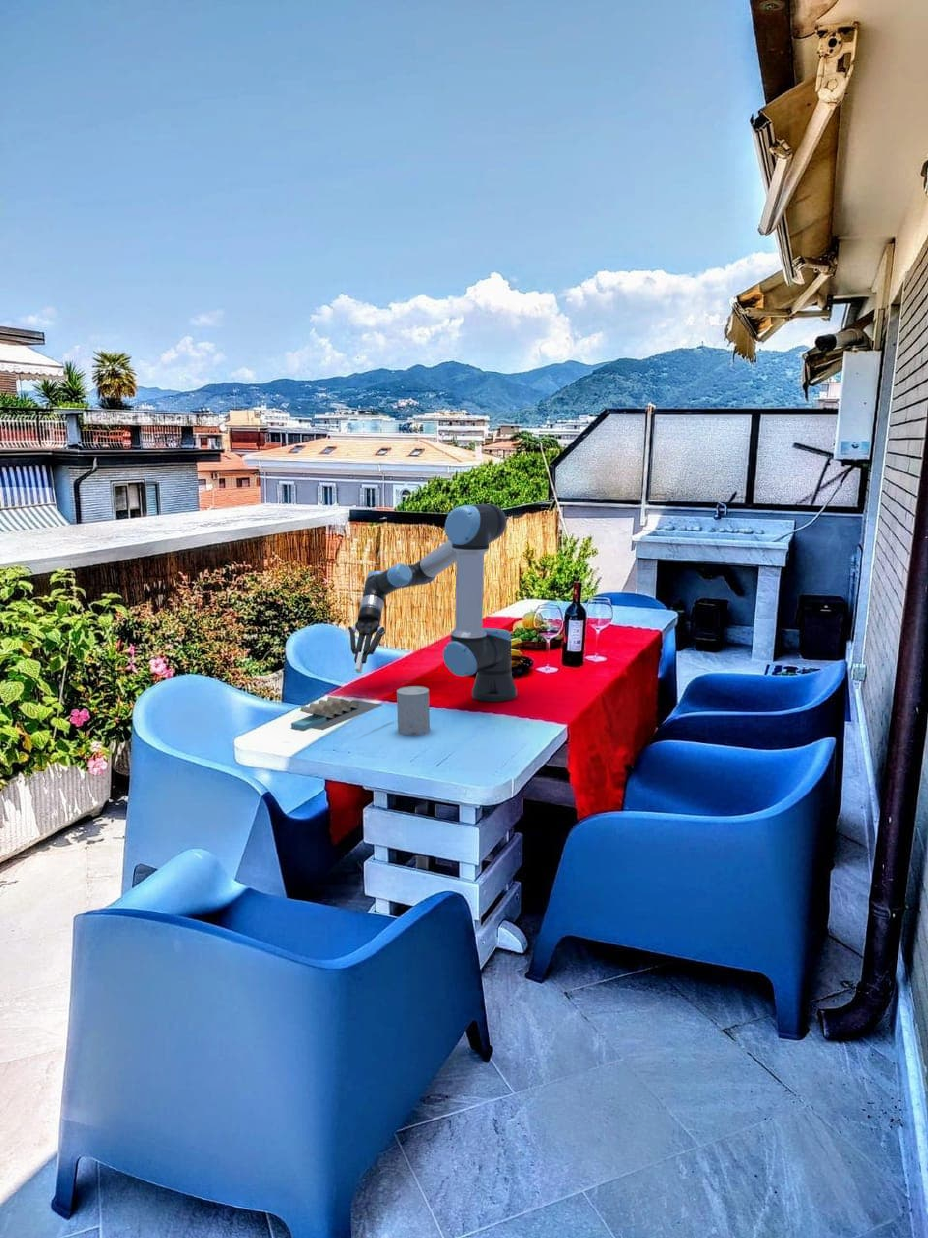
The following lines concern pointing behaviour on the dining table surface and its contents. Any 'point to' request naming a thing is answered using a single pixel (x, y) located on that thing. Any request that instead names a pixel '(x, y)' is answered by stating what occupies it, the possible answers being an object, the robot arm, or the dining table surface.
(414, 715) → the grey flat-topped cylinder
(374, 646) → the robot arm
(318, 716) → the domino
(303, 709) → the domino
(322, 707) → the domino
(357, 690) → the dining table surface
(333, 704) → the domino
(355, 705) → the domino
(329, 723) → the mat
